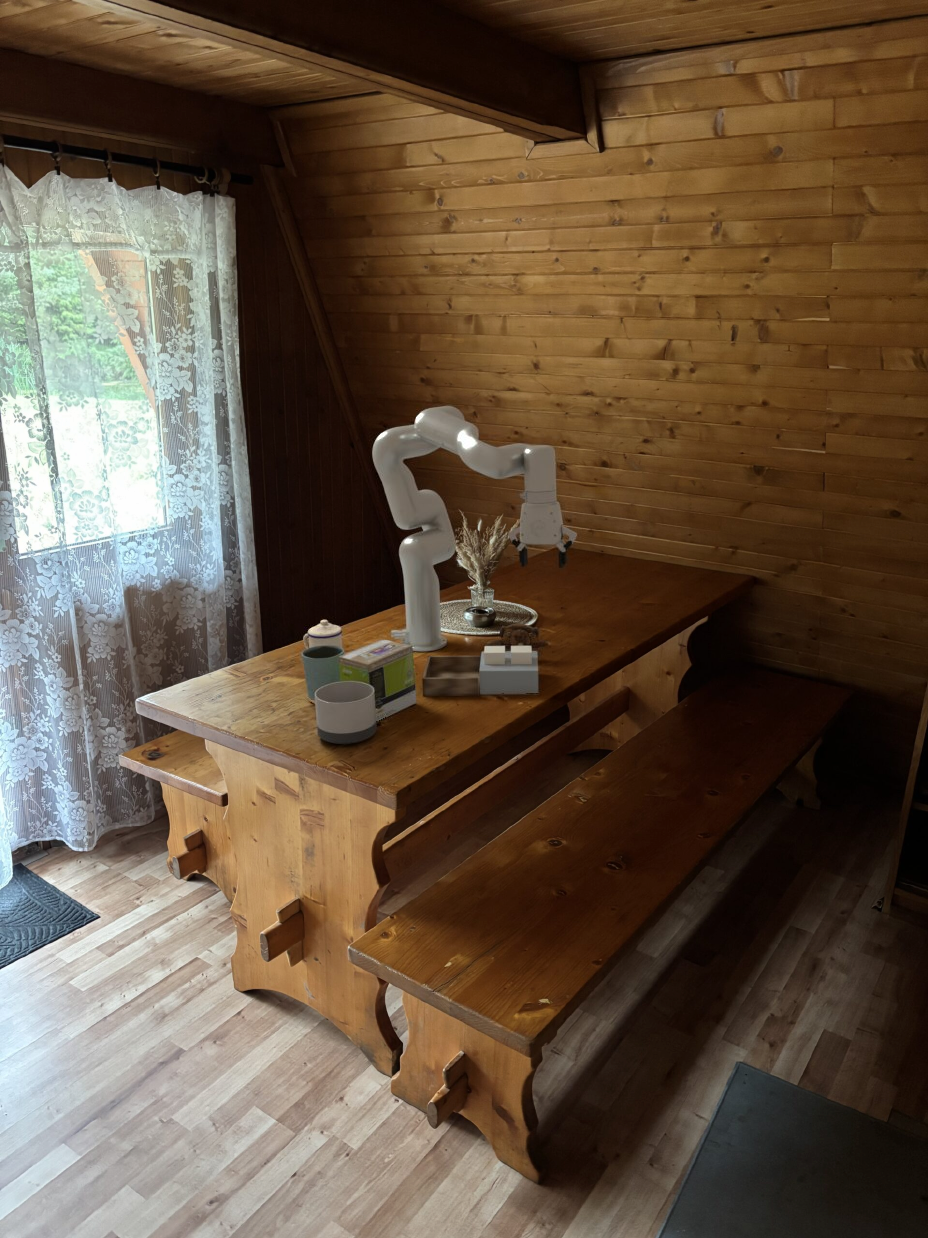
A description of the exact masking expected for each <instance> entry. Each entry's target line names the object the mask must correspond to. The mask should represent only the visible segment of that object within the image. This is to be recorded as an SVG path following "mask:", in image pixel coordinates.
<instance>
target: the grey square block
mask: <svg viewBox="0 0 928 1238" xmlns="http://www.w3.org/2000/svg"><path fill="white" fill-rule="evenodd" d="M480 656H481V662H480V670H479V673H480V688H479V695H527V694H526V693H538V694H539V663H538V661H539V657H537V651H532V664H511V651H505V664H484V650H483V651H481V655H480ZM502 693H504V694H502ZM517 693H519V694H517Z"/></svg>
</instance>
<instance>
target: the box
mask: <svg viewBox="0 0 928 1238" xmlns="http://www.w3.org/2000/svg"><path fill="white" fill-rule="evenodd" d="M480 662H481V655H428V656H427V660H426V664H425V667H424V671H423V675H422V678H421V681H422V682H421V683H422V696H423V697H479V695H480V673H479V670H480Z"/></svg>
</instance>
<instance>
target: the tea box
mask: <svg viewBox="0 0 928 1238" xmlns="http://www.w3.org/2000/svg"><path fill="white" fill-rule="evenodd" d="M339 669H340V680H341V682H344V681H356V682H363V683H367V684H369V685H371V686H372V687H373V688H374V690H375V707H376V721H377V722H379V720H380V721H382V720H383V718H384V719H386V718H388V717H389V716H392V715H394V714H395V713H398V712H400V711H403V710H404V709H407V708H409V707H410V706H412V705H415V704H417V701H418V700H417V690H416V673H415V662H414V651H413V647H412V646H410V645H406V644H402V642H401V643H400V642H396V641H392V640H387V639H384V638H381V639H379V640H377V641H375V642H372V643H370V644H367V645H364V646H362V647H358V648H357V649H354V650H352V651H348V652H346V653H344V655H342V656H339ZM385 717H386V718H385ZM381 719H382V720H381Z"/></svg>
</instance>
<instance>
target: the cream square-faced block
mask: <svg viewBox="0 0 928 1238" xmlns="http://www.w3.org/2000/svg"><path fill="white" fill-rule="evenodd" d="M483 651H484V664H505V646H486V645H485V646H484V650H483Z"/></svg>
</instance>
